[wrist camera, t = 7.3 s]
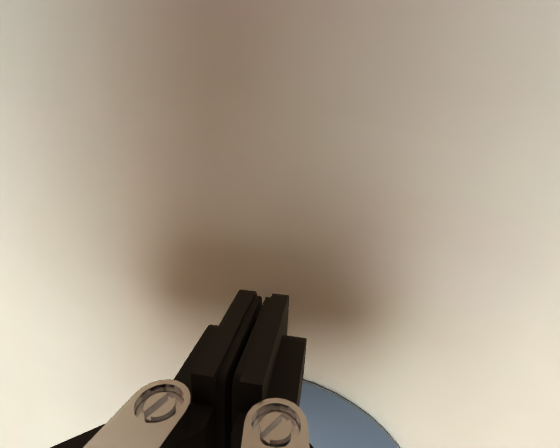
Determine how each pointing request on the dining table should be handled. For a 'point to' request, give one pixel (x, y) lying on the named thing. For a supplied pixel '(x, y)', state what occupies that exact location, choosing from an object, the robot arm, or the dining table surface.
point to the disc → (339, 421)
